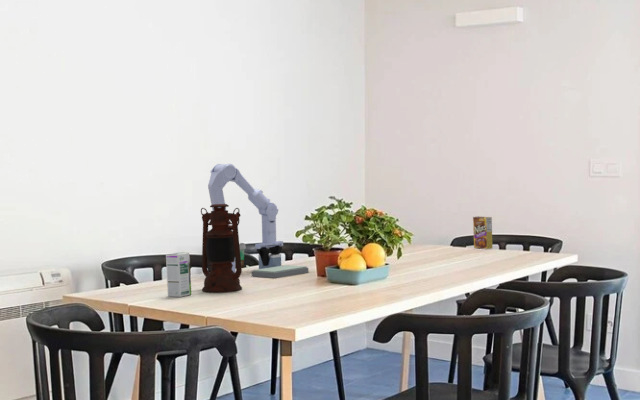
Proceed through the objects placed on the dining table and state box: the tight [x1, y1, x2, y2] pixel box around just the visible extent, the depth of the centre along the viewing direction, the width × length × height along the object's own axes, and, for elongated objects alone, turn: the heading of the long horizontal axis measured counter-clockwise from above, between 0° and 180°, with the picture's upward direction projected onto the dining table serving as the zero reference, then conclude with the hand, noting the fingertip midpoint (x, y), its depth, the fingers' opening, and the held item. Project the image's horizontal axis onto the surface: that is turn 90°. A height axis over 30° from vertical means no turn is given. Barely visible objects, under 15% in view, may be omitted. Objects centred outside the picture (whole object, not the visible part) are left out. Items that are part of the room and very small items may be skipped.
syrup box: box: [165, 251, 192, 298], centre depth 303 cm, size 6×6×14 cm
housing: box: [258, 253, 282, 269], centre depth 367 cm, size 5×8×6 cm, turn 50°
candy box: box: [472, 216, 493, 250], centre depth 434 cm, size 9×4×15 cm, turn 35°
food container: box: [235, 242, 247, 270], centre depth 381 cm, size 12×6×10 cm, turn 143°
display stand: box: [251, 264, 310, 279], centre depth 353 cm, size 20×12×2 cm, turn 140°
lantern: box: [200, 203, 243, 294], centre depth 313 cm, size 17×14×30 cm
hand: (270, 265), depth 367 cm, fingers closed on housing, 5 cm apart
